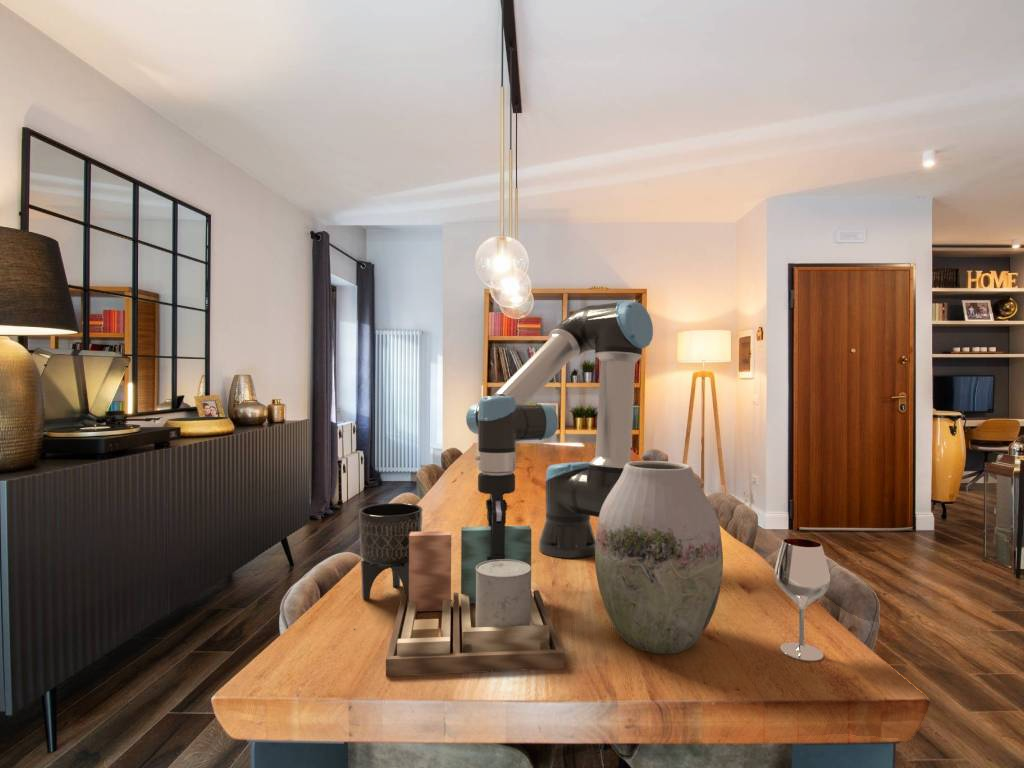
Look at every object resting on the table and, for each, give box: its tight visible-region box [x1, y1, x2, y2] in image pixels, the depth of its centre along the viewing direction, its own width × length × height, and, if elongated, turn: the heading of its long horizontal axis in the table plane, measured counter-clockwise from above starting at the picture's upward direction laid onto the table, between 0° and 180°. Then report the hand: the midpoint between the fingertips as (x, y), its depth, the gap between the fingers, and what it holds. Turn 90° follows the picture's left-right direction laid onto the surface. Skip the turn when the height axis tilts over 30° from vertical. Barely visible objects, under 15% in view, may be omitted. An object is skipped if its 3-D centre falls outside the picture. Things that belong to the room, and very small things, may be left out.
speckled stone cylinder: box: [475, 559, 532, 627], centre depth 99 cm, size 10×10×12 cm
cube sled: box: [397, 530, 452, 656], centre depth 101 cm, size 8×26×14 cm, turn 6°
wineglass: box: [774, 537, 831, 662], centre depth 95 cm, size 8×8×18 cm
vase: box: [594, 460, 724, 655], centre depth 100 cm, size 21×21×30 cm
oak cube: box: [412, 618, 439, 638], centre depth 96 cm, size 4×4×4 cm
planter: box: [358, 502, 423, 602], centre depth 120 cm, size 13×13×18 cm
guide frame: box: [385, 589, 565, 677], centre depth 101 cm, size 27×27×2 cm
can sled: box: [460, 525, 550, 653], centre depth 106 cm, size 14×26×14 cm, turn 6°
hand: (495, 588), depth 117 cm, fingers closed on can sled, 3 cm apart
